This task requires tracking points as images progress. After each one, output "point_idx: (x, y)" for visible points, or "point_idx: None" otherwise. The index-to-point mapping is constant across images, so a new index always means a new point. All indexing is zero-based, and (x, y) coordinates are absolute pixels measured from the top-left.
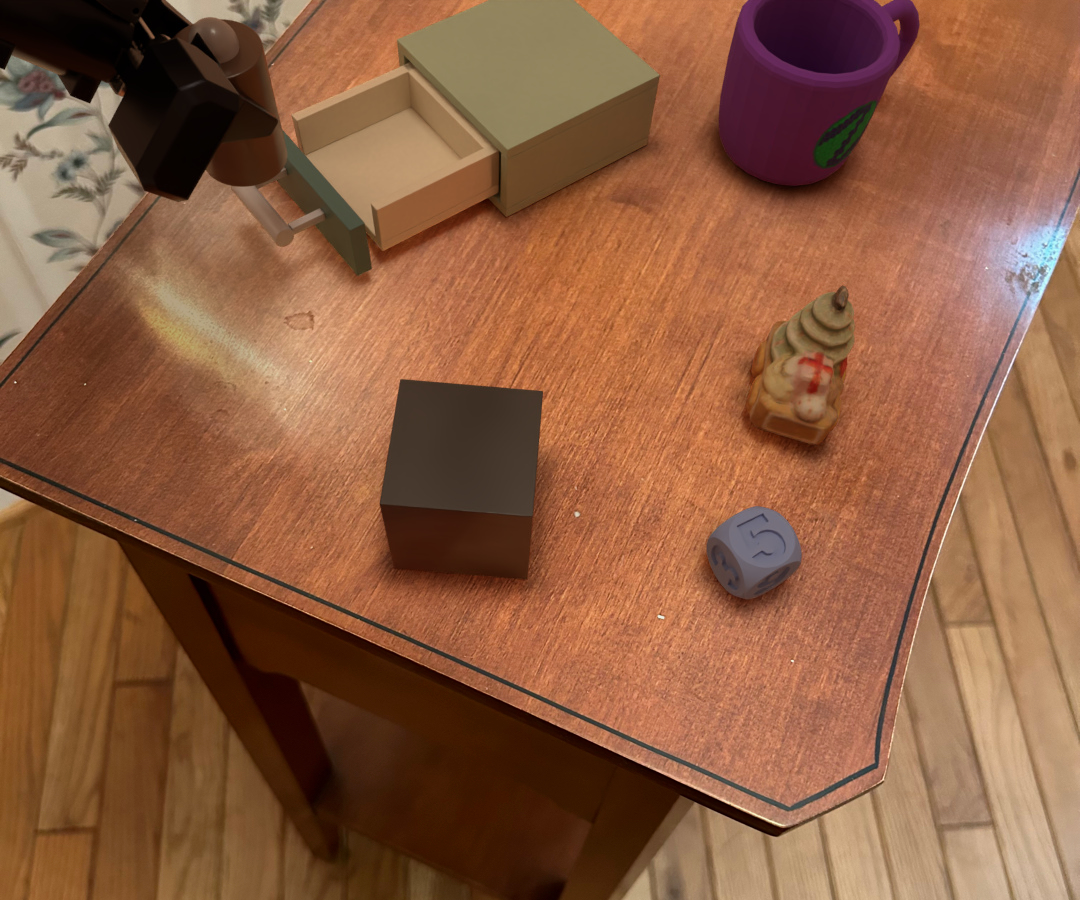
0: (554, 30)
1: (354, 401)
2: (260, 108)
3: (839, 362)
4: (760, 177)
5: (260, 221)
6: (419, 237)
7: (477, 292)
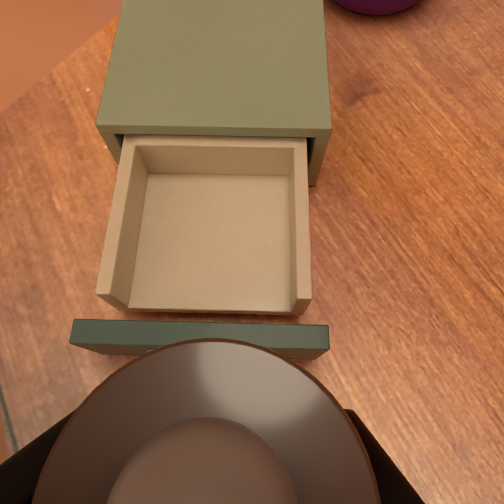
0: (203, 5)
1: (464, 468)
2: (392, 467)
3: None
4: (402, 9)
5: None
6: None
7: (386, 263)
